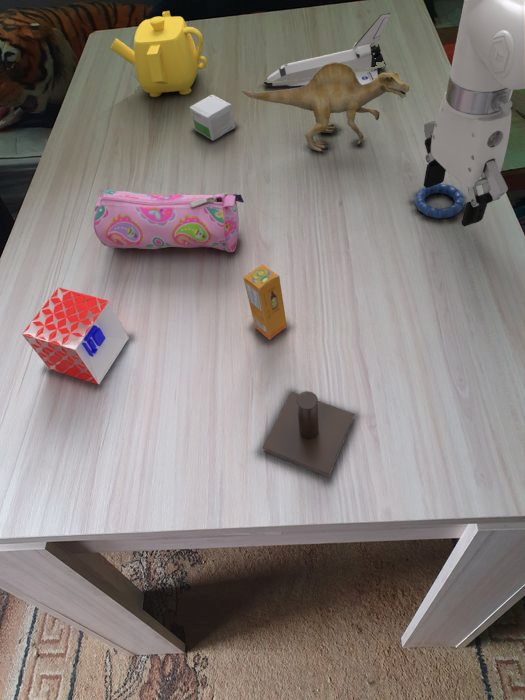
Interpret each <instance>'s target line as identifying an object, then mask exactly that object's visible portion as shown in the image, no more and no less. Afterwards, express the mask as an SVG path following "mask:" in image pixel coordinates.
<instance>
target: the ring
mask: <svg viewBox="0 0 525 700" xmlns="http://www.w3.org/2000/svg"><path fill="white" fill-rule="evenodd" d="M433 194H443V195H447V196H449V197H451V198H452V199H453V201H454V203H453V204H452V205H450V206H449V207H444V208H438V207H433V206H431V205H430V204H428V203H427V202H426V198H427V197H428V196H430V195H433ZM414 203H415V206H416V208H417V210H418V211H419V212H420V213H422V214H424V215H425V216H426V217H429V218H433V219H434V218H435V219H447V218H452V217H454V216H456V215H458V214H459V213H461V212H462V211H463V209H464V207H465V206H464V205H465V203H466V199H465V197H464V194H463V192H462V191H461V190H459V189H458V188H457V187H455V186H454V185H451V184H446V183H440V184H437V185H434V186H432V187H429V188H425V187H424V186H423V188H420V189H419V190H418V191H417V193H416V196H415V197H414Z"/></svg>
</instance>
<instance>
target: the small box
mask: <svg viewBox="0 0 525 700" xmlns="http://www.w3.org/2000/svg"><path fill="white" fill-rule="evenodd" d="M189 109H190V114H191V118H192V123H193V127H194V131H196V132H197V133H200V134H201V135H203V136H204V137H206V138H208V139H209V140H211V141H212V142H213V141H215V140H217V139H219V138H221V137H222V136H224V135H225V134H227V133H229V132H231V131H232V130H234V129H235V128H236V125H235V120H234V114H233V108H232V104H231V103H230V102H227V100H226V101H225V100H224V99H222V98H220V97H218V96H216V95H214V94H210V95H208V96H207V97H205V98H203V99H201V100H199V101H197V102H196V103H194V104H193V105H191V106H189Z"/></svg>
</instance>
